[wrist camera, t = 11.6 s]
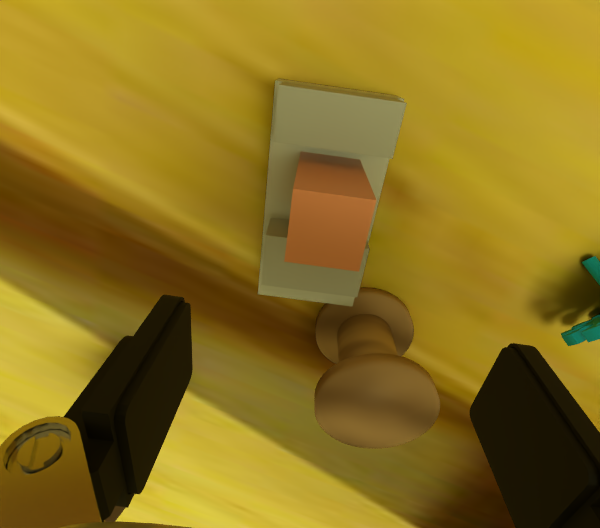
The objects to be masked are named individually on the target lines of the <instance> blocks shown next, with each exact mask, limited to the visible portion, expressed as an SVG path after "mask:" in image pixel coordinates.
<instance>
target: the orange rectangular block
mask: <svg viewBox="0 0 600 528" xmlns="http://www.w3.org/2000/svg"><path fill="white" fill-rule="evenodd" d="M376 201H377V200H376V198H375V195H374V193H373V190H372V188H371V185H370V183H369V180H368V178H367V176H366V173H365V171H364V168H363V166H362V163H361V161H360V159H353V158H346V157H338V156H331V155H324V154H317V153H310V152H303V151H301V153H300V157H299V162H298V167H297V172H296V177H295V182H294V186H293V193H292V201H291V210H290V218H289V226H288V235H287V243H286V251H285V260H284V262H291V263H298V264H305V265H313V266H320V267H328V268H335V269H343V270H350V271H358V272H359V270H360V266H361V261H362V257H363V253H364V249H365V245H366V241H367V237H368V233H369V229H370V225H371V221H372V217H373V213H374V209H375V205H376Z"/></svg>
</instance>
